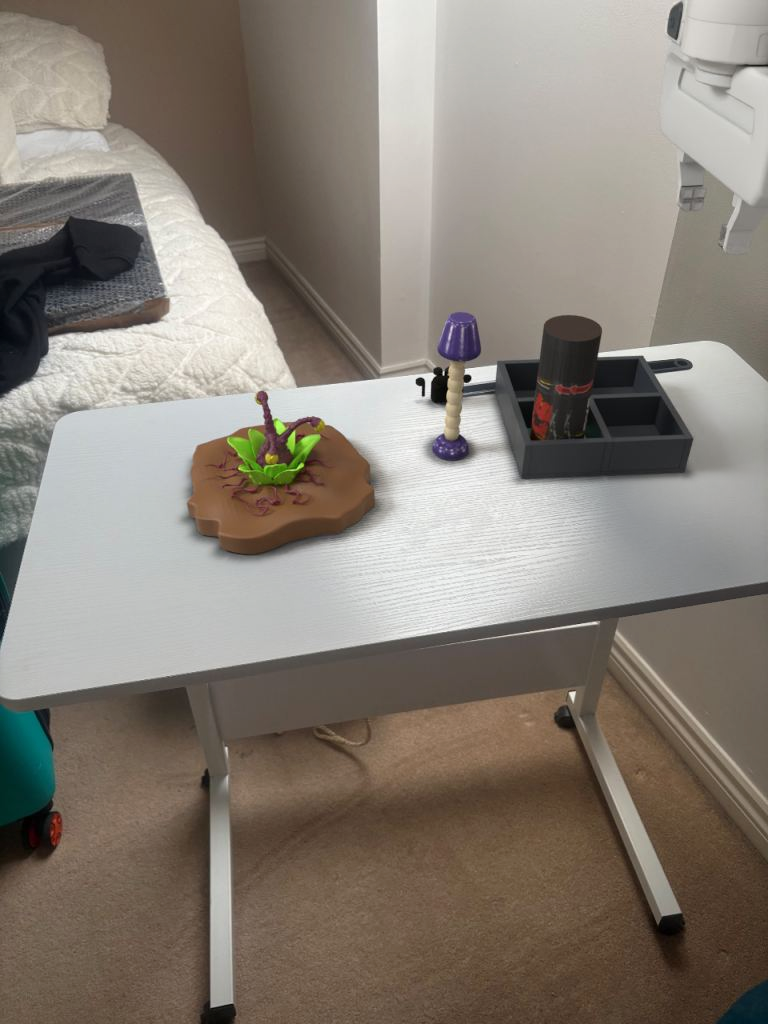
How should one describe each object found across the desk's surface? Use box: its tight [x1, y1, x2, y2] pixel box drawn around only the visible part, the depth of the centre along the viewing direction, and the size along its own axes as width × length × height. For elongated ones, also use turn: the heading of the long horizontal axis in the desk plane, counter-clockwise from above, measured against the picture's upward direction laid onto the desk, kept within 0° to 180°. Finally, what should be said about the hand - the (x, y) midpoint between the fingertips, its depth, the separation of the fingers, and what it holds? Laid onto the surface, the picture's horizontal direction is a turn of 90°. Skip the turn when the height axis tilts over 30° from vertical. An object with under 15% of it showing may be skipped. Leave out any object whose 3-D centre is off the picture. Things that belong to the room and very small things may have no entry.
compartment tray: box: [494, 355, 694, 480], centre depth 98 cm, size 18×18×5 cm
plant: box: [186, 390, 376, 555], centre depth 87 cm, size 20×20×11 cm
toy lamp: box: [431, 311, 482, 461], centre depth 91 cm, size 5×5×17 cm
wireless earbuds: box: [415, 365, 473, 404], centre depth 102 cm, size 7×2×5 cm, turn 96°
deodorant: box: [530, 314, 603, 441], centre depth 90 cm, size 6×6×15 cm
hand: (709, 228), depth 65 cm, fingers open, 8 cm apart
